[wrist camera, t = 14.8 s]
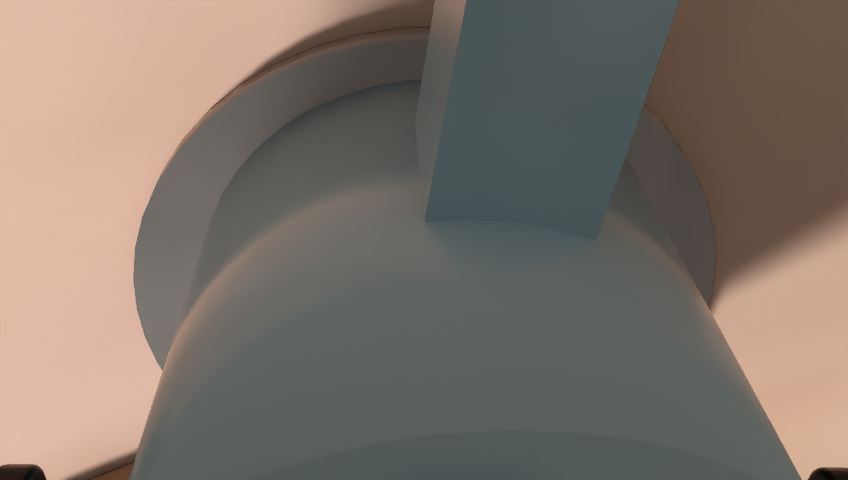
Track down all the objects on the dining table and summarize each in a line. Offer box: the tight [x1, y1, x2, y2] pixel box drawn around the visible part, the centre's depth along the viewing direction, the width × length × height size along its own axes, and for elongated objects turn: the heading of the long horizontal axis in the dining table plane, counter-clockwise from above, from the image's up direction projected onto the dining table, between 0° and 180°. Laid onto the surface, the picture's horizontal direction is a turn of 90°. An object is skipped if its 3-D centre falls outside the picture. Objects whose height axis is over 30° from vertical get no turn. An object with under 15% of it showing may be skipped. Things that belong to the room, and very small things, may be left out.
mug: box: [128, 0, 802, 480], centre depth 8 cm, size 11×7×6 cm, turn 171°
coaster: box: [133, 27, 716, 370], centre depth 12 cm, size 9×9×1 cm
